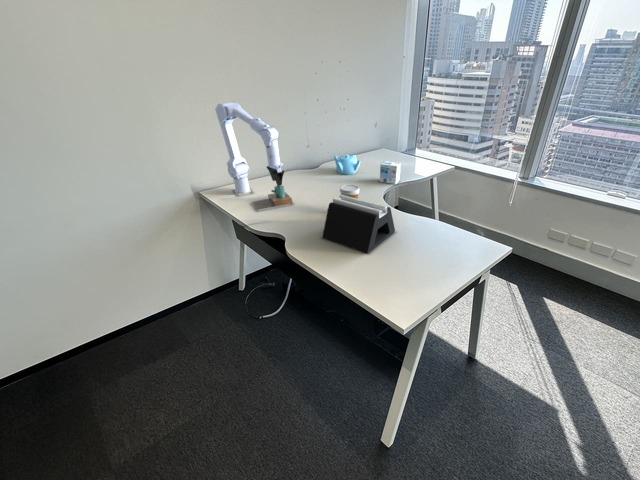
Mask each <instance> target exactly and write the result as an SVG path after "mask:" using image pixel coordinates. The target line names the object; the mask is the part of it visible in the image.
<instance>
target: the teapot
mask: <svg viewBox="0 0 640 480" xmlns="http://www.w3.org/2000/svg"><path fill="white" fill-rule="evenodd" d="M333 158H334V162H335V166H336V167H335V168H336V171H337V173H338V174H341V175H345V176H346V175H354V174H356V173H357V172H358V170H359V167H360V164H361V162H362V161H361V160H360V159H359V160H358V159H357V155H356V154H351V155H350V154H347V153H346V154H344V155H343V156H340V158H339V157H338V155H334V156H333Z"/></svg>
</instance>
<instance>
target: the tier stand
mask: <svg viewBox="0 0 640 480" xmlns="http://www.w3.org/2000/svg"><path fill="white" fill-rule="evenodd" d="M251 204H252V205H253V207H254V208H255V210H257V211H258V210H264V209H269V208H274V207H280V206H284V205H290V204H293V198H292V197H291V196H290V195H289V194H288V193H287V192H286V191H285V197H282V198H277V197H276V196H275V193H274V192H273V193H268V194H267V199H260V200H256V201H255V200H254V201H251Z"/></svg>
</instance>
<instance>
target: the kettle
mask: <svg viewBox="0 0 640 480" xmlns="http://www.w3.org/2000/svg"><path fill="white" fill-rule="evenodd" d="M270 192H271V193H273V194H274V193H275V196H276V197H277V198H282V197H285V192H286V191H285V186H284V185H283V184H282V185H279V186H278V185H277V184H276V185H275V186H273V189H271V190H270Z"/></svg>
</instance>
